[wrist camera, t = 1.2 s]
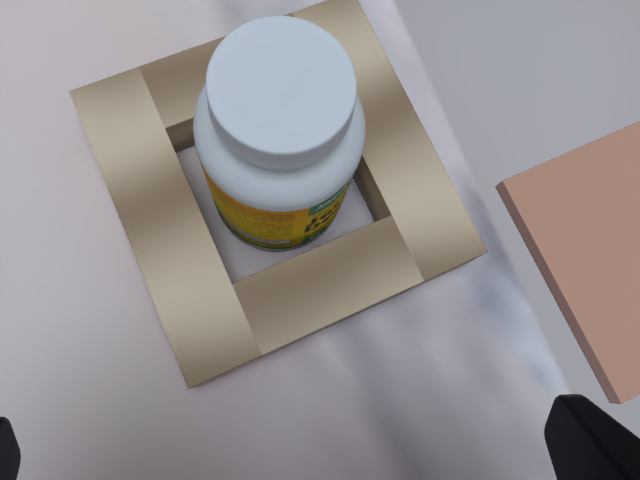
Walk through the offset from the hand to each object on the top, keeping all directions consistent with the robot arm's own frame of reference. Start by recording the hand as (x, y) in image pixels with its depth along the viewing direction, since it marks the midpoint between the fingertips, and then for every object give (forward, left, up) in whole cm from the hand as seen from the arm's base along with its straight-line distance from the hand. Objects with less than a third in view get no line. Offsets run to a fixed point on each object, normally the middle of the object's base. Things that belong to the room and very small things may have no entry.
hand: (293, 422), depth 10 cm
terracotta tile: (-1, -17, -13) cm, 22 cm away
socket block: (+8, -3, -13) cm, 16 cm away
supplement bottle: (+8, -3, -14) cm, 16 cm away
